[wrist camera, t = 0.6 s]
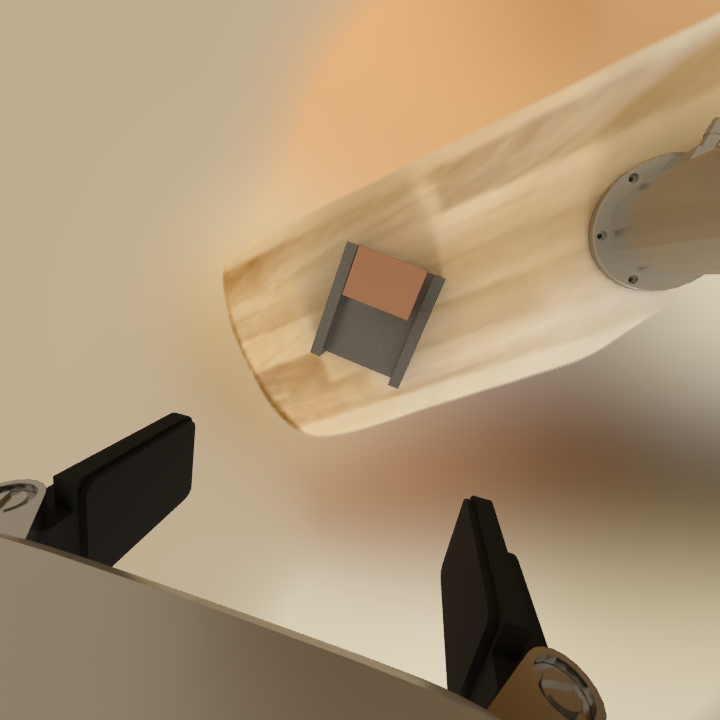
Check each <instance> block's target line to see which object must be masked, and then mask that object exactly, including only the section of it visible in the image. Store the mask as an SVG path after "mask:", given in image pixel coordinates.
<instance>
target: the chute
mask: <svg viewBox="0 0 720 720" xmlns="http://www.w3.org/2000/svg"><path fill="white" fill-rule="evenodd" d="M358 247H359V246H358V245H356V244H353V243H351V242H348V241H347V244H346V247H345V250H344V253H343V256H342V259H341V262H340V265H339V268H338V271H337V274H336V277H335V280H334V283H333V286H332V289H331V292H330V295H329V298H328V301H327V304H326V307H325V310H324V313H323V316H322V319H321V322H320V325H319V328H318V331H317V334H316V337H315V340H314V343H313V346H312V349H311V353H313V354H316V355H318V356H320V355H322V354H323V353H324V352H326V351H328V352H331V353H333V354H336V355H338V356H340V357H343V358H345V359H348V360H350V361H353V362H355V363H357V364H360V365H362V366H365V367H367V368H369V369H372V370H374V371H377V372H379V373H382V374H384V375H386V376H389V377H391V378H390V381H389V384H388V385H390V386H393V387H395V388H397V389H398V387H399V385H400V383H401V381H402V378H403V376H404V374H405V371H406V369H407V367H408V364H409V362H410V360H411V357H412V355H413V353H414V351H415V348H416V346H417V344H418V341H419V339H420V337H421V334H422V332H423V330H424V327H425V325H426V323H427V321H428V318H429V316H430V314H431V311H432V309H433V307H434V304H435V302H436V300H437V297H438V295H439V293H440V291H441V288H442V286H443V284H444V281H445V278H442V277H439V276H437V275H432V274H430V273H427V274H426V277H425V279H424V282H423V284H422V286H421V289H420V291H419V294H418V296H417V299H416V301H415V303H414V306H413V308H412V311H411V313H410V315H409V318H408V320H405V319H402V318H400V317H397V316H395V315H392V314H390V313H387V312H385V311H382V310H380V309H377V308H375V307H372V306H369V305H367V304H364V303H362V302H359V301H357V300H354V299H352V298H349V297H347V296H344V295H342V293H343V290H344V288H345V285H346V282H347V279H348V276H349V273H350V270H351V267H352V264H353V262H354V259H355V256H356V253H357V250H358Z"/></svg>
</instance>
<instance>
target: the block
mask: <svg viewBox="0 0 720 720" xmlns="http://www.w3.org/2000/svg"><path fill="white" fill-rule="evenodd" d="M427 272H428V271H426V270H423V269H421V268H418V267H416V266H413V265H410V264H408V263H405V262H403V261H400V260H397V259H395V258H392V257H389V256H387V255H384V254H382V253H379V252H376V251H374V250H371V249H369V248H366V247H363V246H361V245H359V247H358V250H357V253H356V256H355V259H354V262H353V264H352V267H351V270H350V273H349V276H348V279H347V282H346V285H345V288H344V290H343V293H342V295H344V296H347V297H349V298H352V299H354V300H357V301H359V302H362V303H364V304H367V305H369V306H372V307H375V308H377V309H380V310H382V311H385V312H387V313H390V314H392V315H395V316H397V317H400V318H402V319H405V320H408V318H409V315H410V313H411V311H412V308H413V306H414V303H415V301H416V299H417V296H418V294H419V291H420V289H421V286H422V284H423V282H424V279H425V277H426V274H427Z"/></svg>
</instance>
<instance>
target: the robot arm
mask: <svg viewBox="0 0 720 720" xmlns="http://www.w3.org/2000/svg"><path fill="white" fill-rule="evenodd" d="M719 142H720V117H717V118H714V119H713V120H712V122H711V123H710V125H709V127H708V129H707V130H706V132H705V134H704V135H703V139H702V140H701V142H700V144H699V146H696V147H694V148H693V149H692V150H690V151H688V152H674V153H670V154H665V155H660V156H657V157H655V158H652V159H650V160H647V161H645V162H643V163H641V164H639V165H637V166H635V167H634V168H632V169H631V170H629V171H628V172H626V173H625V174H623V175H622V176H621V177H620V178H618V179H617V180H616V181H615V182H614V183H613V184H612V185H611V186H610V187H609V188H608V190H607V191H606V192H605V194H604V195H603V196H602V198H601V199H600V201H599V203H598V205H597V207H596V209H595V211H594V214H593V217H592V220H591V223H590V230H589V244H590V250H591V253H592V257H593V259H594V261H595V263H596V265H597V266H598V268H599V269H600V270H601V271H602V273H603V274H604V275H605V276H606V277H608V278H609V279H610V280H612V281H613V282H615V283H616V284H619V285H621V286H624V287H626V288H630V289H635V290H643V291H659V290H667V289H672V288H676V287H679V286H682V285H684V284H687V283H690V282H692V281H694V280H696V279H697V278H699V277H701V276H703V275H704V274H720V147H718V148H716V147H717V146H718V144H719ZM629 178H630V179H631V182H629ZM598 234H599V235H600V238H599V239H598V238H597V235H598ZM629 277H630V281H628V279H629ZM194 435H195V423H194V422H192V419H191V417H189V416H186V415H182V414H178V413H171V414H169V415H167V416H165V417H163V418H161V419H160V420H158V421H156V422H154V423H152V424H150V425H149V426H147V427H145V428H143V429H141V430H139V431H137V432H135V433H133V434H132V435H130V436H128V437H126V438H124V439H122V440H120V441H119V442H117V443H115V444H113V445H111V446H109V447H107V448H105V449H103V450H102V451H100V452H98V453H96V454H94V455H92V456H90V457H89V458H87V459H85V460H83V461H81V462H79V463H77V464H75V465H73V466H72V467H70V468H68V469H66V470H64V471H62V472H61V473H59V474H57V475H55V476H53V482H54V484H53V485H51V486H49V487H48V488H46V486H45V485H44V484H43V483H41V482H39V481H37V480H29V479H26V480H14V481H8V482H4V483H0V720H606V712H605V708H604V703H603V701H602V699H601V697H600V695H599V693H598V691H597V689H596V687H595V686H594V685H593V683H592V682H591V681H590V679H589V677H588V676H587V675H586V674H585V673H584V672H583V671H582V670H581V669H580V668H579V667H578V666H577V664H575V663H574V662H573V661H571V660H570V659H569V658H568V657H566V656H565V655H563V654H562V653H560V652H558V651H556V650H554V649H551V648H548V647H547V644H546V641H545V638H544V635H543V632H542V629H541V626H540V623H539V620H538V618H537V614H536V612H535V608H534V606H533V603H532V600H531V597H530V594H529V591H528V588H527V585H526V582H525V579H524V576H523V573H522V570H521V568H520V565H519V561H518V559H517V557H516V556H515V555H514V554H512V553H509V552H508V551H507V548H506V545H505V542H504V538H503V535H502V532H501V529H500V526H499V522H498V519H497V516H496V513H495V510H494V507H493V503H492V501H490V500H487V499H483V498H480V497H476V496H472V497H471V498H470V500H469V499H464V501H463V504H462V507H461V510H460V513H459V516H458V519H457V522H456V525H455V528H454V532H453V534H452V537H451V540H450V543H449V547H448V549H447V552H446V556H445V558H444V562H443V565H442V570H441V590H442V605H443V606H442V607H443V623H444V639H445V656H446V672H447V687H448V688H447V689H448V690H447V689H445V688H442V687H440V686H438V685H435V684H433V683H431V682H429V681H427V680H424V679H422V678H419V677H416V676H414V675H411V674H409V673H406V672H403V671H401V670H398V669H395V668H393V667H390V666H387V665H385V664H382V663H380V662H377V661H375V660H372V659H369V658H366V657H364V656H361V655H359V654H356V653H353V652H350V651H348V650H344V649H342V648H339V647H336V646H334V645H331V644H328V643H325V642H323V641H320V640H317V639H314V638H311V637H308V636H306V635H303V634H300V633H298V632H295V631H292V630H289V629H287V628H284V627H281V626H278V625H276V624H272V623H270V622H267V621H264V620H262V619H258V618H255V617H253V616H250V615H247V614H245V613H242V612H239V611H236V610H233V609H230V608H227V607H225V606H222V605H219V604H216V603H213V602H211V601H208V600H205V599H202V598H199V597H196V596H194V595H191V594H188V593H185V592H182V591H179V590H177V589H174V588H171V587H168V586H165V585H162V584H159V583H157V582H154V581H151V580H148V579H145V578H142V577H139V576H136V575H133V574H131V573H128V572H125V571H122V570H119V569H116V568H113V567H112V566H113V565H114V564H115V563H116V562H117V561H118V560H120V559H121V558H122V557H123V556H124V555H125V554H126V553H127V552H128V551H129V550H130V549H131V548H133V547H134V546H135V545H136V544H137V543H138V542H139V541H140V540H141V539H142V538H143V537H144V536H146V534H148V533H149V532H150V531H151V530H152V529H153V528H154V527H155V526H156V525H157V524H158V523H160V522H161V521H162V520H163V519H164V518H165V517H166V516H167V515H168V514H169V513H170V512H171V511H173V510H174V508H176V507H177V506H178V505H179V504H180V503H181V502H182V501H183V500H184V499H185V498H186V497H187V496H188V494H189V492H190V490H191V483H192V467H193V451H194V437H195V436H194Z"/></svg>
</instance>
